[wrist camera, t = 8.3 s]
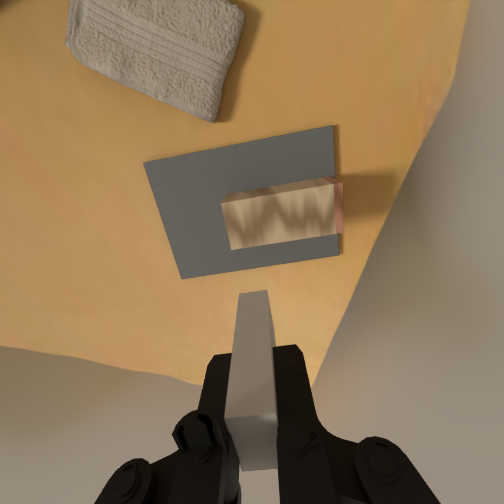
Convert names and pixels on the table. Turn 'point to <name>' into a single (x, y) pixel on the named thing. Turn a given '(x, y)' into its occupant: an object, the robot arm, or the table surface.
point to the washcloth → (160, 47)
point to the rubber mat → (231, 181)
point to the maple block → (284, 212)
